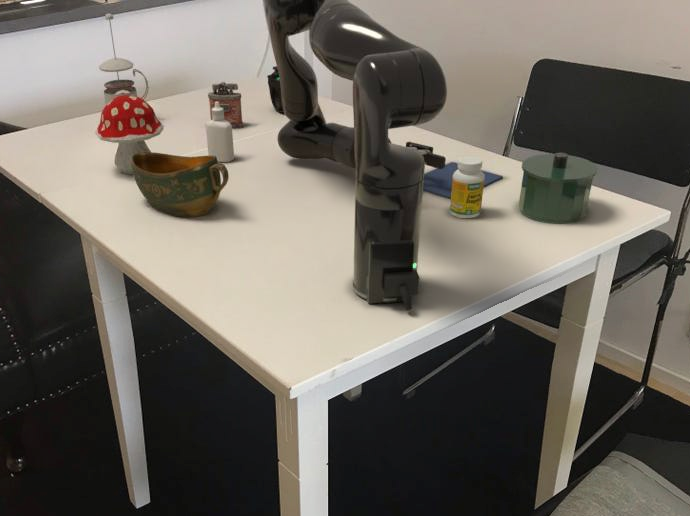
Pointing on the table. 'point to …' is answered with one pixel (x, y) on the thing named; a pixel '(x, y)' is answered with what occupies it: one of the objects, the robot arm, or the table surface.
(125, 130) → the decorative mushroom
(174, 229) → the table surface
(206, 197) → the cup
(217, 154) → the eye dropper bottle
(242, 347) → the table surface
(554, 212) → the pot
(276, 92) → the controller
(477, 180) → the supplement bottle
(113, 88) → the french press
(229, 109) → the lighter
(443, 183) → the flat panel
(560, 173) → the pot lid
